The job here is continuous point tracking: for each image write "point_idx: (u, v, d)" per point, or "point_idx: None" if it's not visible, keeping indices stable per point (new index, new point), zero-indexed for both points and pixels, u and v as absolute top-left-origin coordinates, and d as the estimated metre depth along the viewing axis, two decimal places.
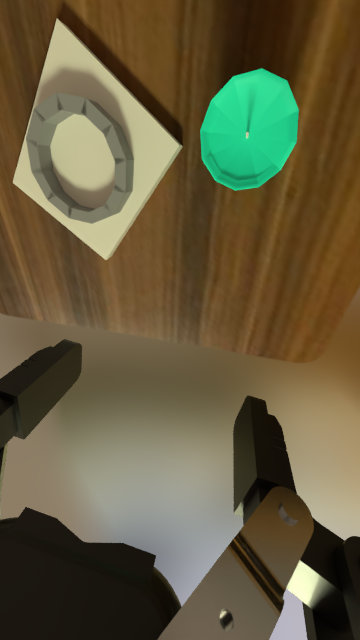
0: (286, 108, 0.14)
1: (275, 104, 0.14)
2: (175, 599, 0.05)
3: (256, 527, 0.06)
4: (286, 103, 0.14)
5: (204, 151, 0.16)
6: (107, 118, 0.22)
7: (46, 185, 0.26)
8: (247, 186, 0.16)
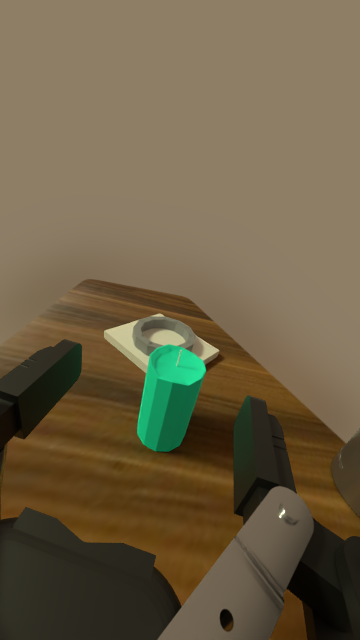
0: (189, 381, 0.23)
1: (191, 377, 0.23)
2: (175, 599, 0.05)
3: (256, 527, 0.06)
4: (191, 380, 0.23)
5: (172, 345, 0.26)
6: None
7: (157, 318, 0.46)
8: (151, 360, 0.24)
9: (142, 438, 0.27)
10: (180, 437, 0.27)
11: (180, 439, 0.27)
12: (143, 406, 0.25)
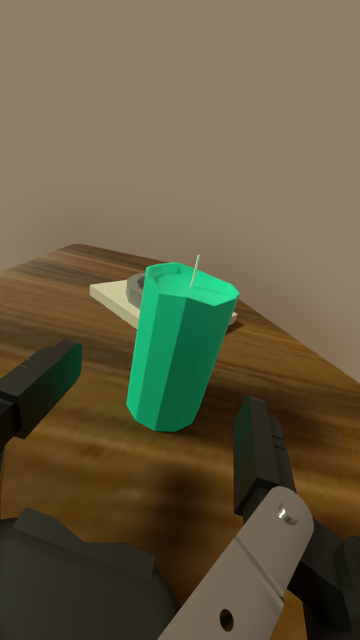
0: (214, 302, 0.13)
1: (216, 300, 0.14)
2: (175, 599, 0.05)
3: (256, 527, 0.06)
4: None
5: (182, 265, 0.17)
6: None
7: None
8: (148, 272, 0.14)
9: (134, 410, 0.17)
10: (193, 409, 0.17)
11: (193, 413, 0.17)
12: (136, 356, 0.16)
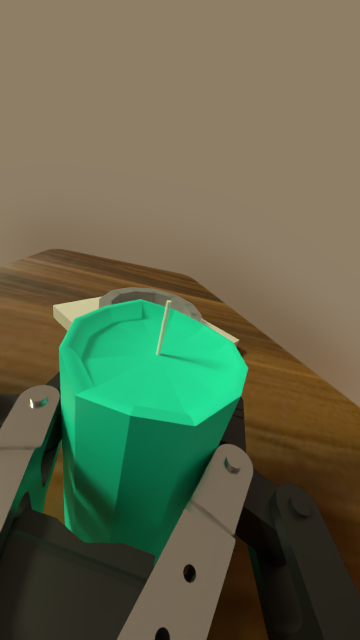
0: (197, 406, 0.06)
1: (203, 392, 0.07)
2: None
3: (207, 485, 0.06)
4: (205, 404, 0.06)
5: (150, 304, 0.10)
6: None
7: (142, 290, 0.29)
8: (71, 333, 0.07)
9: None
10: None
11: None
12: (64, 470, 0.09)
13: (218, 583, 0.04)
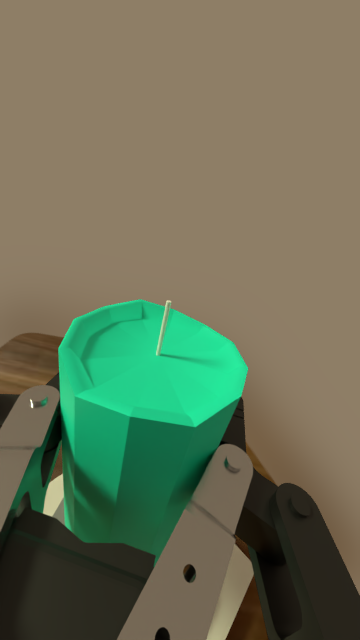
0: (197, 407, 0.06)
1: (203, 393, 0.07)
2: None
3: (207, 485, 0.06)
4: (205, 405, 0.06)
5: (150, 304, 0.10)
6: None
7: None
8: (71, 333, 0.07)
9: None
10: None
11: None
12: (64, 470, 0.09)
13: (218, 583, 0.04)
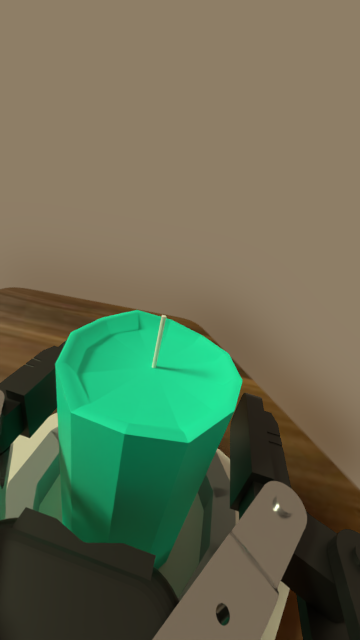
0: (191, 422, 0.06)
1: (197, 406, 0.07)
2: (175, 599, 0.05)
3: (251, 521, 0.06)
4: (199, 420, 0.06)
5: (146, 314, 0.10)
6: None
7: None
8: (68, 347, 0.07)
9: None
10: (165, 553, 0.10)
11: (166, 554, 0.11)
12: (62, 480, 0.09)
13: (254, 639, 0.04)
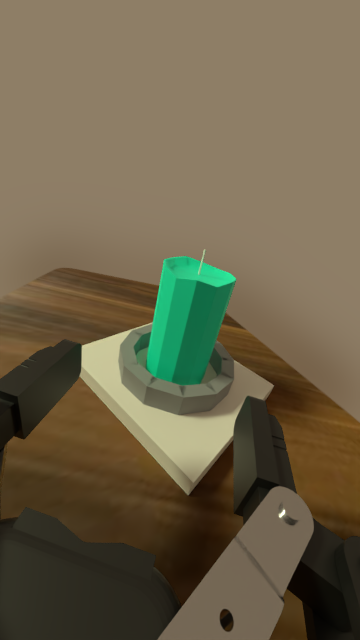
0: (217, 285, 0.17)
1: (218, 284, 0.18)
2: (175, 599, 0.05)
3: (256, 527, 0.06)
4: None
5: (191, 258, 0.21)
6: (220, 392, 0.20)
7: None
8: (166, 263, 0.18)
9: (153, 375, 0.21)
10: (200, 373, 0.21)
11: (200, 377, 0.22)
12: (155, 330, 0.20)
13: None
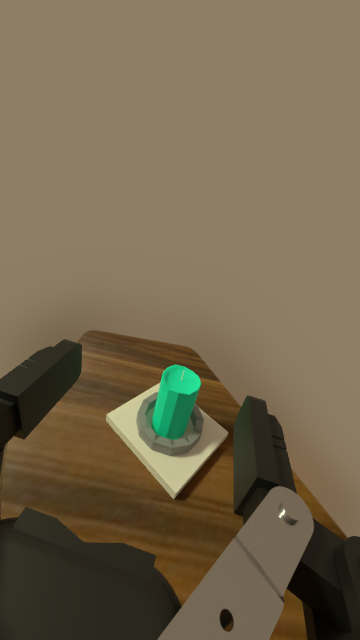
0: (189, 391, 0.34)
1: (191, 389, 0.35)
2: (175, 599, 0.05)
3: (256, 527, 0.06)
4: (191, 391, 0.34)
5: (177, 366, 0.38)
6: (192, 442, 0.36)
7: None
8: (163, 377, 0.35)
9: (156, 431, 0.38)
10: (182, 430, 0.38)
11: (182, 431, 0.38)
12: (157, 408, 0.37)
13: None
